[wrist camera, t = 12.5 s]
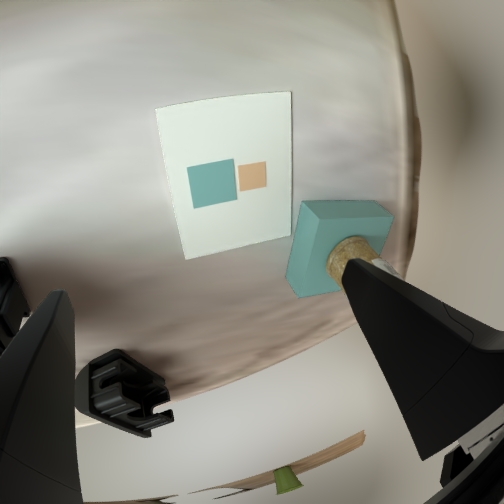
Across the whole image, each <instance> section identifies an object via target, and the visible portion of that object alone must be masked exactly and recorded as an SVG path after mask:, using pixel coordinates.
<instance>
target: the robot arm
mask: <svg viewBox="0 0 504 504" xmlns="http://www.w3.org/2000/svg"><path fill="white" fill-rule="evenodd" d="M3 263H4V264H5V265H4V264H3ZM341 282H342V286H343V288H344V290H345V293H346V295H347V298H348V300H349V303H350V305H351V308H352V310H353V313H354V315H355V317H356V320H357V322H358V324H359V326H360V328H361V330H362V332H363V334H364V336H365V338H366V340H367V342H368V344H369V345H370V348H371V350H372V351H373V354H374V355H375V358H376V360H377V362H378V364H379V366H380V368H381V370H382V372H383V374H384V376H385V378H386V381H387V383H388V385H389V387H390V389H391V391H392V393H393V396H394V398H395V400H396V402H397V404H398V407H399V409H400V411H401V413H402V415H403V418H404V420H405V423H406V425H407V427H408V429H409V432H410V434H411V437H412V439H413V441H414V444H415V446H416V449H417V451H418V454H419V456H420V458H421V460H422V461H424V460H426V459H428V458H429V457H431V456H433V455H434V454H436V453H437V452H439V451H441V450H442V449H444V448H446V447H447V446H449V445H450V444H452V443H453V442H455V441H456V440H458V442H459V444H458V445H457V446H456V447H455V448H454V449H452V450H451V451H450V452H449V453H448V454H446V455H445V457H444V463H443V469H442V474H441V479H440V483H441V485H442V487H443V489H442V490H440V491H439V492H438V493H437V494H435V495H434V496H433V497H432V498H430V499H429V500H428V501H426V502H425V503H424V504H504V331H499V330H496V329H494V328H492V327H490V326H488V325H486V324H484V323H482V322H480V321H478V320H476V319H474V318H472V317H470V316H468V315H466V314H464V313H462V312H460V311H458V310H456V309H455V308H453V307H451V306H449V305H447V304H445V303H444V302H441V301H440V300H438V299H436V298H435V297H433V296H431V295H429V294H427V293H426V292H424V291H422V290H420V289H418V288H416V287H414V286H413V285H411V284H409V283H407V282H405V281H403V280H401V279H399V278H398V277H396V276H394V275H392V274H390V273H388V272H386V271H384V270H382V269H380V268H379V267H377V266H375V265H373V264H371V263H369V262H367V261H365V260H363V259H361V258H352V259H349V260H348V261H347V263H346V266H345V269H344V271H343V274H342V277H341ZM30 312H31V311H30V308H29V306H28V304H27V301H26V299H25V297H24V295H23V292H22V290H21V288H20V286H19V283H18V282H17V280H16V278H15V275H14V273H13V270H12V268H11V265H10V263H9V261H8V260H7V259H6V258H0V504H83V499H82V493H81V486H80V479H79V471H78V460H77V450H76V433H75V365H76V361H75V330H74V311H73V308H72V305H71V302H70V300H69V297H68V294H67V292H66V291H65V290H64V289H58V290H52V291H51V292H50V293H49V294H48V296H47V297H46V298H45V299H44V300H43V302H42V303H41V304H40V305H39V306H38V308H37V309H36V310H35V311H34V313H33V314H32V315H31V316H30ZM29 316H30V318H29V319H28V320H27V321H26V323H25V324H24V325H23V327H22V328H21V329H20V325H21V322H22V318H23V317H29ZM19 329H20V330H19Z"/></svg>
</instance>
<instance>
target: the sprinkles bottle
mask: <svg viewBox="0 0 504 504" xmlns="http://www.w3.org/2000/svg"><path fill="white" fill-rule="evenodd" d="M352 258H361V259H363V260H365V261H367V262H369V263H371V264H373V265H375V266H377V267H379V268H380V269H382V270H384V271H386V272H388V273H390V274H392V275H394V276H396V277H398V278H399V279H401V280H403V279H402V278H401V276H400V275H399V274H398V273H397V272H396V271H395V270H394V269H393V268H392V267H391V266H390V265H389V264H388V263H387V262H386V261H385V260H383V259H382V258H381V257H380V256H379V255H378V254H377V253H376V252H375V251H374V250H373V249H372V248H371V247H370V245H369V243H368V242H367V240H366V239H364V238H362V237H359V236H353V237H350V238H347V239H344V240H343V241H342V242H340V243H338V245H337V246H336V247H335V248H334V249H333V250H332V251H331V253H330V254H329V256H328V258H327V262H326V272H327V273H328V275H329V276H330V277H331V278H332V279H334V281H335V282H336V283H337V284H338V286H339V287H340V289H341V290H342V291H343V293H344V294H345V295H346V293H345V290H344V288H343V286H342V282H341V277H342V274H343V271H344V269H345V266H346V263H347V261H348V260H349V259H352ZM403 281H404V280H403ZM346 298H347V295H346ZM347 299H348V298H347ZM348 301H349V300H348Z"/></svg>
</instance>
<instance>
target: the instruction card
mask: <svg viewBox="0 0 504 504" xmlns="http://www.w3.org/2000/svg"><path fill="white" fill-rule="evenodd" d="M155 111H156V117H157V123H158V129H159V135H160V141H161V147H162V152H163V158H164V163H165V168H166V173H167V178H168V183H169V188H170V193H171V198H172V203H173V207H174V212H175V216H176V221H177V225H178V230H179V234H180V238H181V242H182V247H183V251H184V255H185V259H186V260H188V259H192V258H196V257H200V256H205V255H209V254H213V253H217V252H221V251H226V250H230V249H234V248H238V247H242V246H247V245H251V244H255V243H259V242H264V241H268V240H272V239H276V238H281V237H285V236H289V235H291V92H290V91H285V92H268V93H256V94H245V95H235V96H227V97H219V98H212V99H205V100H199V101H192V102H187V103H181V104H176V105H170V106H165V107H161V108H156V109H155Z"/></svg>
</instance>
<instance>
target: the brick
mask: <svg viewBox="0 0 504 504" xmlns="http://www.w3.org/2000/svg"><path fill="white" fill-rule="evenodd" d="M393 219H394V216H393V215H392V214H390V213H389V212H388V211H387V210H386V209H384V208H383V207H382V206H381V205H379V204H378V203H377V202H376V201H302V204H301V209H300V213H299V218H298V223H297V227H296V232H295V237H294V241H293V246H292V250H291V255H290V259H289V263H288V268H287V272H286V276H285V277H286V279H287V280H288V282H289V284H290V285H291V287H292V289H293V290H294V292H295V294H296V295H297V297H298V298H302V297H308V296H314V295H319V294H325V293H330V292H335V291H341V289H340V287H339V286H338V284H337V283H336V282H335V281H334V279H332V278H331V277H330V276H329V275H328V273H327V272H326V262H327V258H328V256H329V254H330V253H331V251H332V250H333V249H334V248H335V247H336V246H337V245H338V243H340V242H342V241H343V240H344V239H347V238H350V237H353V236H359V237H362V238H364V239H366V240H367V242H368V243H369V245H370V247H371V248H372V249H373V250H374V251H375V252H376V253H377V254H378V255H380V253H381V250H382V248H383V245H384V243H385V240H386V238H387V235H388V232H389V230H390V227H391V224H392V221H393Z"/></svg>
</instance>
